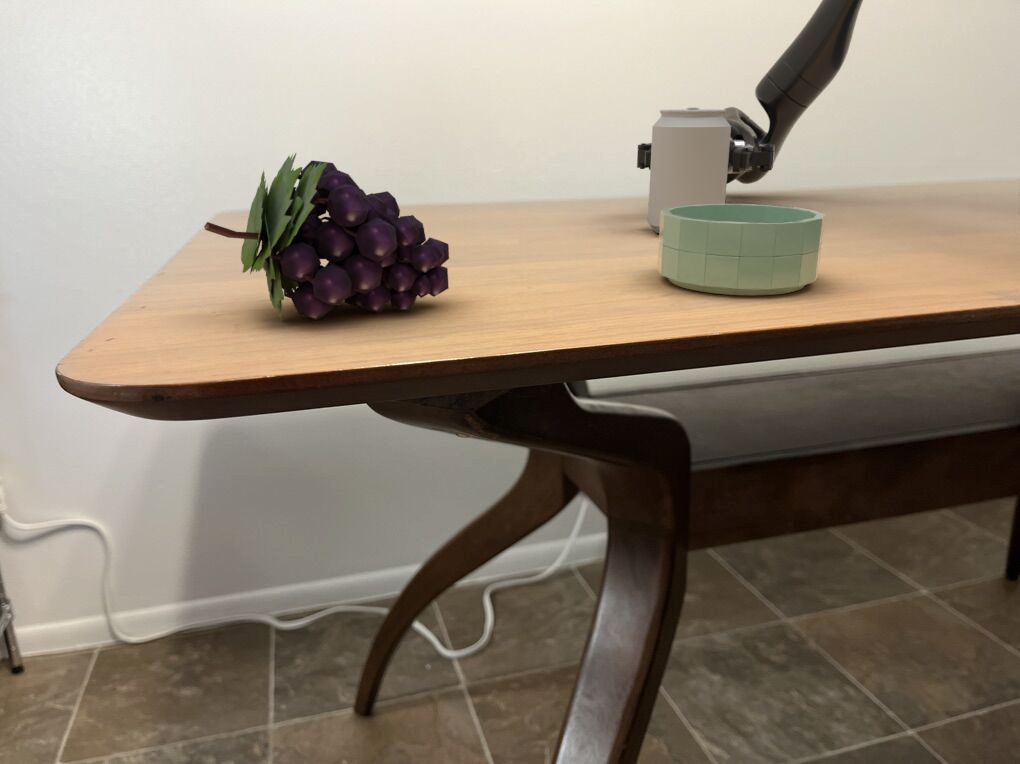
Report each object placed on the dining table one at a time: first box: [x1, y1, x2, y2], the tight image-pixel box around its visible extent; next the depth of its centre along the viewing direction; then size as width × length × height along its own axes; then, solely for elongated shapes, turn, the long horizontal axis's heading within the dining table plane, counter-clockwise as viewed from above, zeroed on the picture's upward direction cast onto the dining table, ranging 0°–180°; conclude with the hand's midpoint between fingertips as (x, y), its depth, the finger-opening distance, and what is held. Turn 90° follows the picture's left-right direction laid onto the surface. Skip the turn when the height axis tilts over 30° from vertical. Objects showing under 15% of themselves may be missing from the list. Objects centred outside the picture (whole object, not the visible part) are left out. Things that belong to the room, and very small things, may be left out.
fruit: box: [203, 152, 450, 321], centre depth 51 cm, size 10×11×15 cm
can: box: [647, 107, 731, 234], centre depth 81 cm, size 8×8×12 cm
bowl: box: [657, 202, 826, 297], centre depth 59 cm, size 11×11×5 cm
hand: (693, 160), depth 82 cm, fingers open, 8 cm apart
